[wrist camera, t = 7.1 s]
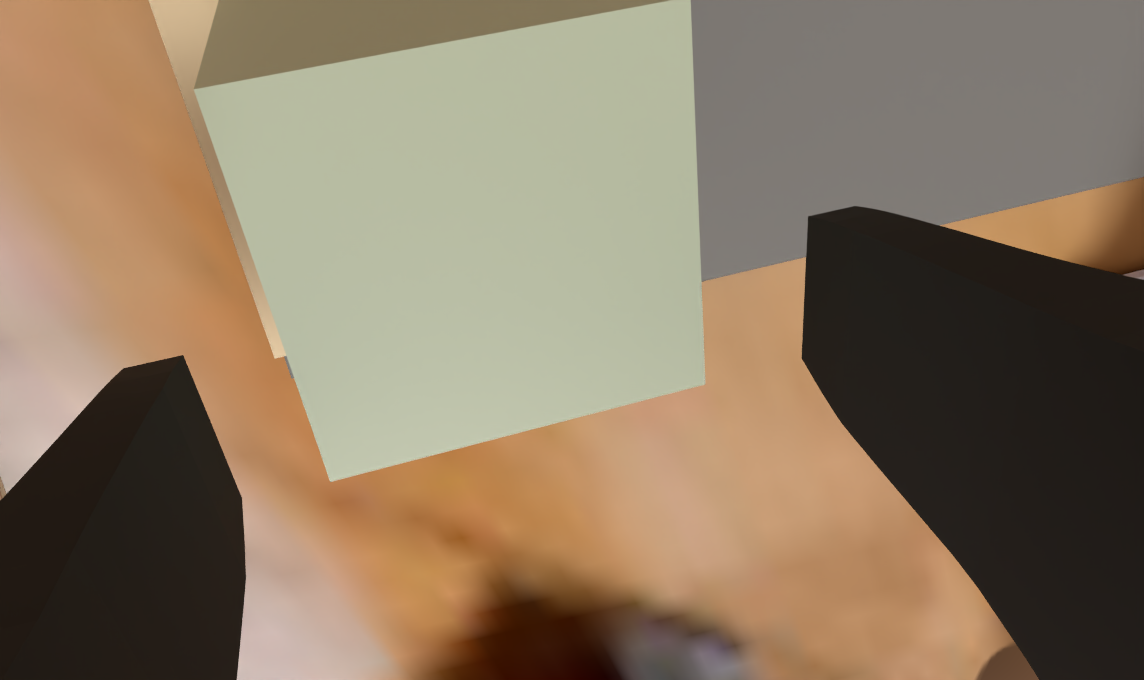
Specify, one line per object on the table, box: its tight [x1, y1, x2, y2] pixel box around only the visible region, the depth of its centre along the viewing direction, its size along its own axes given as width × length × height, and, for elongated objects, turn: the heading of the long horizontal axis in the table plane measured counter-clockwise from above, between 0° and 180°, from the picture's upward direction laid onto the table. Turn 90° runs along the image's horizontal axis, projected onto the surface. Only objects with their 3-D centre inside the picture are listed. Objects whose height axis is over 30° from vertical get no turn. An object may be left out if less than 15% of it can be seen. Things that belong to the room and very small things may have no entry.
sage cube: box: [194, 0, 705, 482], centre depth 12 cm, size 5×5×5 cm
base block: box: [149, 0, 286, 358], centre depth 16 cm, size 7×7×4 cm
